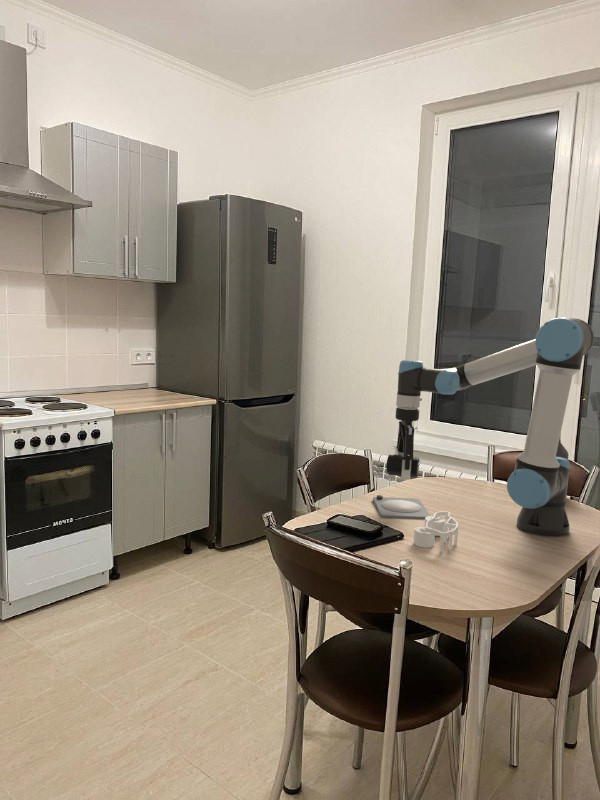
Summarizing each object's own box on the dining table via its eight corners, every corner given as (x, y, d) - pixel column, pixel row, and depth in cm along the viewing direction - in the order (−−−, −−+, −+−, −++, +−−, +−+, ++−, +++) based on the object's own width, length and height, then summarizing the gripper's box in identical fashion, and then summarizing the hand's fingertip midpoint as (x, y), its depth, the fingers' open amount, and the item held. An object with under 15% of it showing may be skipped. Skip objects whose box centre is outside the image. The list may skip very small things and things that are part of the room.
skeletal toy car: (428, 531, 188) (429, 508, 187) (464, 538, 183) (466, 514, 182) (408, 552, 170) (410, 526, 169) (449, 561, 166) (451, 534, 165)
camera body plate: (431, 521, 197) (432, 514, 197) (381, 519, 197) (381, 512, 196) (418, 502, 217) (418, 495, 217) (372, 501, 217) (373, 494, 216)
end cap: (385, 476, 204) (386, 456, 203) (390, 471, 210) (391, 452, 209) (416, 480, 200) (417, 460, 199) (419, 475, 207) (421, 455, 206)
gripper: (426, 413, 192) (421, 484, 195) (412, 403, 213) (408, 467, 216) (402, 412, 191) (397, 483, 195) (390, 402, 213) (386, 466, 216)
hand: (402, 475), depth 205 cm, fingers closed on end cap, 9 cm apart
